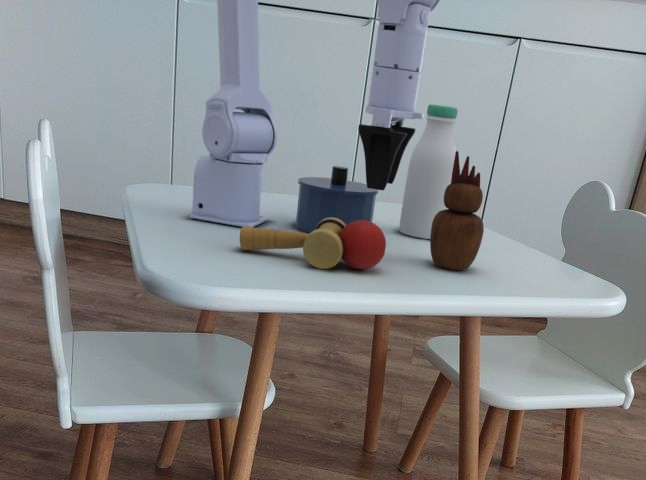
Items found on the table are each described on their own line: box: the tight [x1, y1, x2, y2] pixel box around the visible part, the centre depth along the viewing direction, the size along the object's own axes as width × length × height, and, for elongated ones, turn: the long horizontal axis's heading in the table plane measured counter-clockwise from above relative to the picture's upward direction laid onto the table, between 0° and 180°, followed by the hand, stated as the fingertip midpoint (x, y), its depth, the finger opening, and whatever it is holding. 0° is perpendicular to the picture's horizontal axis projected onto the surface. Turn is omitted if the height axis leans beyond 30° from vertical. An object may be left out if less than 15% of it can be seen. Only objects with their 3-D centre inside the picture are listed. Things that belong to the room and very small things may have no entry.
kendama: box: [239, 217, 387, 270], centre depth 84 cm, size 8×6×18 cm
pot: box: [295, 184, 377, 234], centre depth 104 cm, size 11×11×6 cm
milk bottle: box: [398, 103, 458, 240], centre depth 108 cm, size 8×8×20 cm
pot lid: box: [297, 165, 380, 196], centre depth 103 cm, size 12×12×4 cm
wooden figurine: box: [429, 150, 485, 271], centre depth 90 cm, size 7×6×15 cm
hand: (380, 185), depth 86 cm, fingers open, 7 cm apart
